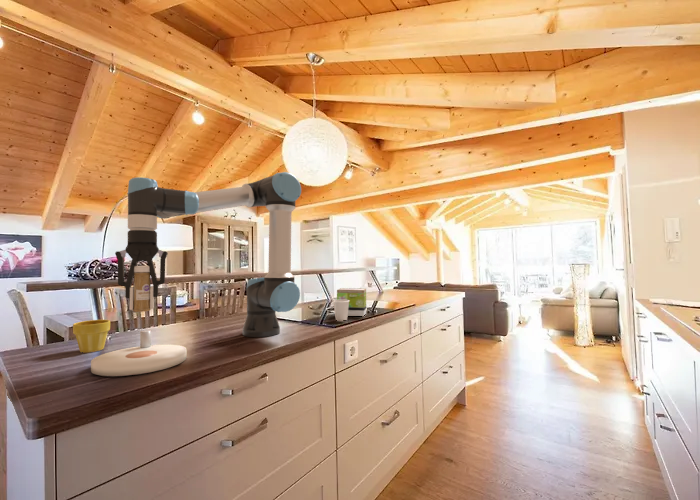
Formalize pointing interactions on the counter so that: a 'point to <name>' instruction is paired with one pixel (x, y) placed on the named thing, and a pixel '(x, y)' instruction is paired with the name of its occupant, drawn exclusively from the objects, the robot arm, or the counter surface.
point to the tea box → (354, 300)
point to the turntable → (138, 358)
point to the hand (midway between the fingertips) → (142, 308)
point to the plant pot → (91, 334)
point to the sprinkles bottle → (141, 289)
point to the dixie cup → (341, 309)
